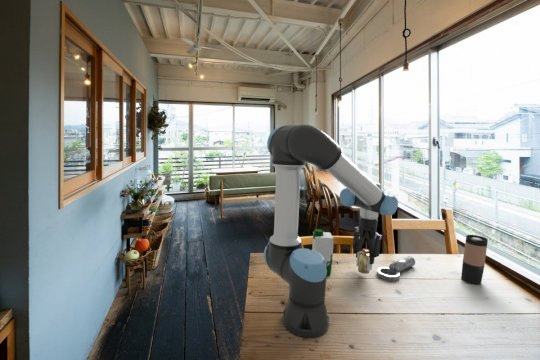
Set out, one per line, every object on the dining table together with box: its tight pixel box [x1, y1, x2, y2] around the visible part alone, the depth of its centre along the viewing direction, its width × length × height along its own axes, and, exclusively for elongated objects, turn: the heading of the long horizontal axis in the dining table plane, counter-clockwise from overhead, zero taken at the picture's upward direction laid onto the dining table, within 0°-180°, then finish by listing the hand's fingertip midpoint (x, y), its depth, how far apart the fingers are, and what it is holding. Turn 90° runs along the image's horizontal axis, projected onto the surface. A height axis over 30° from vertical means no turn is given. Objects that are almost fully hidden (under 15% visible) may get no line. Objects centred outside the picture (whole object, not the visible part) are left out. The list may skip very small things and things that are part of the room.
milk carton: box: [311, 228, 334, 277], centre depth 125 cm, size 9×9×20 cm
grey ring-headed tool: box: [376, 255, 416, 282], centre depth 128 cm, size 24×9×5 cm, turn 125°
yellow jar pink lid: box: [357, 248, 370, 275], centre depth 123 cm, size 5×5×10 cm
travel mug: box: [460, 234, 489, 286], centre depth 120 cm, size 8×8×20 cm
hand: (363, 267), depth 123 cm, fingers closed on yellow jar pink lid, 5 cm apart
